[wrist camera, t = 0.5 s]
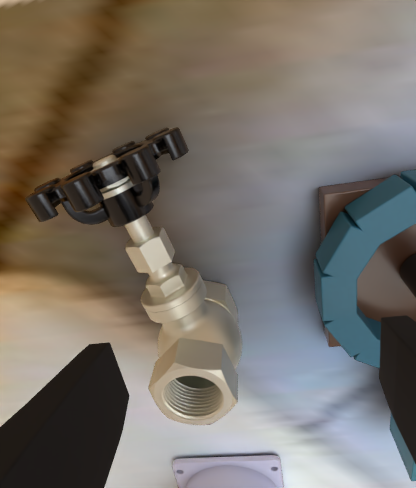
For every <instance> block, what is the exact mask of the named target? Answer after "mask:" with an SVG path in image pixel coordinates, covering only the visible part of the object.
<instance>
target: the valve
mask: <svg viewBox="0 0 416 488" xmlns="http://www.w3.org/2000/svg"><path fill="white" fill-rule="evenodd" d="M145 139H146V140H144V141H141V142H139V143H136V144H135V142H134V141H131V142H128V143H126V144H123V145H121V146H119V147H117V148H115V149H114V150H113V151H112V152H113V153H112V154H110V155H108V156H106V157H103V158H101V159H99V160H97V161H94V162H93V161H92V160H89V161H87V162H84V163H82V164H80V165H78V166H76V167H74V168H72V169H71V170H70V172H71V174H70V175H68V176H66V177H64V178H62V179H59V178H55V179H53V180H50V181H48V182H46V183H44V184H42V185H40V186H38V187H37V188H35V189H34V191H35V192H34V193H32V194H30V195H29V196H27V197H26V198H25V200H26V202H27V203H28V205H29V206H30V208H31V210H32V211H33V213H34V214H35V216H36V217H37V219H38V220H39V222H44V221H47V220H49V219H51V218H53V217H55V216H57V215H58V212H57V210H56V209H55V207H56V206H58V205H59V204H60V203H62V205H63V207H64V208H65V210H66V211H67V213H68V214H69V215H70V216H71V217H72V218H73V219H75V220H76V221H78V222H80V223H83V224H89V225H93V224H99V223H102V222H104V221H106V220H108V221H109V223H110V225H111V226H112V227H119V226H123V225H125V227H126V229H127V231H128V233H129V235H130V236H131V239H130V240H129V241H128V242H127V244H126V247H125V250H126V252H127V253H128V255H129V257H130V259H131V261H132V262H133V264H134V266H135V268H136V270H137V271H138V273H148V274H149V275H150V276H149V277H148V279H147V281H146V289H145V290H144V292H143V293H142V296H141V303H142V305H143V307H144V308H145V310H146V312H147V314H148V315H149V317H150V319H151V320H152V321H154V322H156V323H161V324H162V328H161V330H160V333H159V338H158V356H159V359H158V360H157V361H156V363H155V366H154V370H153V373H152V377H151V380H150V384H149V391H150V393H151V395H152V397H153V399H154V401H155V403H156V404H157V406H158V407H159V409H160V410H161V412H162V413H163V414H164V415H165V416H166V417H167V418H169V419H172V420H174V421H177V422H181V423H185V424H192V425H210V424H212V423H214V422H216V421H218V420H219V419H221V418H222V417H223V416H224V415H226V414H227V413H228V412H229V411H230V410H231V409H232V408H233V407H234V406H235V404H236V403H237V402H238V374H237V372H236V368H237V366H238V364H239V361H240V358H241V353H242V337H241V332H240V329H239V327H238V310H237V308H236V305H235V303H234V300H233V298H232V296H231V294H230V292H229V290H228V288H227V286H226V285H224V284H220V283H216V282H211V281H204V280H202V278H201V276H200V274H199V272H198V271H197V270H196V269H194V268H183V266H182V265H181V264H175V263H173V264H172V259H173V257H174V254H175V250H174V248H173V246H172V244H171V242H170V240H169V238H168V236H167V234H166V232H165V230H164V228H162V227H154V228H152V226H151V225H150V223H149V221H148V219H147V217H146V214H147V213H148V212H150V211H151V209H152V208H153V206H154V205H153V203H152V201H153V200H155V199H156V198H157V196H158V194H159V189H160V185H159V179H158V176H157V175H158V174H159V173H160V168H159V166H158V164H157V162H156V159H158V158H159V157H160V156H161V155H163V154H167V153H169V154H170V156H171V158H172V160H175V159H177V158H179V157H181V156H183V155H185V154H186V153H188V148H187V145H186V143H185V141H184V138H183V136H182V134H181V131H180V129H179V128H178V127H176V128H173V129H170V130H169V128H164V129H161V130H159V131H157V132H154V133H152V134H150V135H148V136H147V137H146V138H145ZM98 203H99V205H100V207H99V208H97V209H95V210H92V211H86V209H89V208H91V207H93V206H95V205H96V204H98Z"/></svg>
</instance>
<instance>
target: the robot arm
mask: <svg viewBox="0 0 416 488" xmlns="http://www.w3.org/2000/svg"><path fill="white" fill-rule="evenodd" d="M379 379H380V382H381V385H382V388H383V391H384V394H385V397H386V399H387V402H388V405H389V408H390V410H391V413H392V416H393V418H394V421H395V423H396V425H397V427H398V429H399V431H400V433H401V435H402V437H403V439H404V441H405V444H406V446H407V448H408V450H409V452H410V454H411V456H412V458H413V460H414V462H415V464H416V322H415V321H414V320H413V319H411V318H410V317H409V316H407V315H405V316H394V317H383V318H381V336H380V370H379ZM128 400H129V394H128V391H127V388H126V385H125V383H124V380H123V377H122V374H121V372H120V369H119V366H118V364H117V361H116V358H115V355H114V353H113V350H112V347H111V344H110V343H99V344H89V345H88V346H87V347H86V348H85V349H84V350H82V351H81V352H80V353H79V354H78V355H77V356H76V357H75V358H74V359H73V360H72V361H71V362H70V363H69V364H68V365H66V366H65V367H64V368H63V369H62V370H61V371H60V372H59V373H58V374H57V375H56V376H55V377H54V378H53V379H52V380H51V381H50V382H49V383H48V384H47V385H46V386H45V387H44V388H43V389H41V390H40V391H39V392H38V393H37V394H36V395H35V396H34V397H33V398H32V399H31V400H30V401H29V402H28V403H27V404H26V405H25V406H23V407H22V408H21V409H20V410H19V411H18V412H17V413H16V414H14V415H13V416H12V417H11V418H10V419H9V420H8V421H7V422H5V423H4V424H3V425H2V426H1V427H0V488H104V487H105V484H106V481H107V478H108V475H109V471H110V468H111V465H112V462H113V459H114V456H115V453H116V450H117V447H118V444H119V441H120V437H121V434H122V430H123V426H124V421H125V416H126V411H127V405H128ZM172 468H173V471H174V474H175V477H176V480H177V483H178V486H179V488H284V485H283V477H282V469H281V462H280V458H279V457H278V456H276V455H262V456H235V457H208V458H181V459H175V460H174V461H173V463H172Z"/></svg>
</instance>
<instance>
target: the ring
mask: <svg viewBox="0 0 416 488" xmlns="http://www.w3.org/2000/svg"><path fill="white" fill-rule="evenodd" d="M345 209H346V211H347V212H348V214H347V213H344V212H340V213H339V214H338V216H337V218H336V220H335V221H334V223H333V225H332V226H331V228H330V230H329V232H328V233H327V235H326V237H325V239H324V240H323V242H322V244H321V245H320V247H319V249H318V251H317V252H316V254H315V255H316V258H317V259H314V277H315V297H316V303H317V306H318V309H319V312H320V315H321V318H322V320H323V323H324V326H325V327H326V328H327V329H328V331H329V332H330V333H331V334H332V335H333V337H334V338H335V339H336V340H337V341H338V343H339V344H340V345H341V346H342V347H343V348H344V350H345V351H346V352H347V353H348V354H349V356H350V357H354V359H355V360H357V361H360V362H363V363H366V364H369V365H371V366H374V367H377V368H380V336H381V322H379V321H376V320H373V319H371V318H368V317H366V316H365V315H364V314H363V312H362V311H361V310H360V309H359V307H358V306H357V278H358V277H359V275H360V274H361V272H362V271H363V269H364V268H365V266H366V265H367V263H368V262H369V260H370V259H371V257H372V256H373V254H374V253H375V251H376V250H377V248H378V247H379V245H380V244H382V243H384V242H385V241H387V240H389V239H390V238H392V237H394V236H396V235H397V234H399V233H401V232H402V231H404V230H406V229H407V228H409V227H411V226H412V225H414V224H416V170H410V171H402V172H401V175H400V177H398V176H397V175H395V174H394V175H392V176H391V177H389V178H388V179H386V180H385V181H383V182H382V183H380V184H379V185H377V186H376V187H374V188H372V189H371V190H369V191H368V192H366V193H365V194H363V195H362V196H360V197H359V198H357V199H356V200H354V201H353V202H351V203H349V204H348V205H346V206H345ZM390 431H391V433H392V436H393V438H394V441H395V443H396V445H397V448H398V450H399V453H400V455H401V457H402V460H403V462H404V465H405V467H406V469H407V472H408V474H409V477H410V479H411V481H416V464H415V462H414V460H413V458H412V456H411V454H410V452H409V450H408V448H407V446H406V444H405V441H404V439H403V437H402V435H401V433H400V431H399V429H398V427H397V425H396V423H395V421H394V418H393V416H392V413H391V420H390Z"/></svg>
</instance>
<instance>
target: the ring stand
mask: <svg viewBox="0 0 416 488" xmlns="http://www.w3.org/2000/svg"><path fill="white" fill-rule="evenodd" d="M398 177H400V176H398ZM386 179H388V178H382V179H375V180H367V181H360V182H353V183H345V184H338V185H330V186H323V187H319V207H320V231H321V244H322V242H323V240H324V239H325V237H326V235H327V233H328V232H329V230H330V228H331V226H332V225H333V223H334V221H335V220H336V218H337V216H338V214H339V213H340V212H344V213H347V214H348V212H347V211H346V209H345V206H346V205H348V204H349V203H351V202H353V201H354V200H356V199H357V198H359V197H360V196H362V195H363V194H365V193H366V192H368V191H369V190H371V189H372V188H374V187H376V186H377V185H379V184H380V183H382V182H383V181H385V180H386ZM357 306H358V307H359V309H360V310H361V311H362V312H363V314H364V315H365V316H366V317H368V318H371V319H373V320H376V321H379V322H381V318H383V317H394V316H405V315H407V316H409V317H410V318H411V319H413V320H414V321H415V322H416V224H414V225H412V226H411V227H409V228H407V229H406V230H404V231H402V232H401V233H399V234H397V235H396V236H394V237H392V238H390V239H389V240H387V241H385V242H384V243H382V244H380V245H379V247H378V248H377V250H376V251H375V253H374V254H373V256H372V257H371V259H370V260H369V262H368V263H367V265H366V266H365V268H364V269H363V271H362V272H361V274H360V275H359V277H358V278H357ZM324 330H325V336H326V339H327V342H328V345H329V347H334V346H341V345H340V344H339V343H338V341H337V340H336V339H335V338H334V337H333V335H332V334H331V333H330V332H329V331H328V329H327V328H326V327H325V326H324Z"/></svg>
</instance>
